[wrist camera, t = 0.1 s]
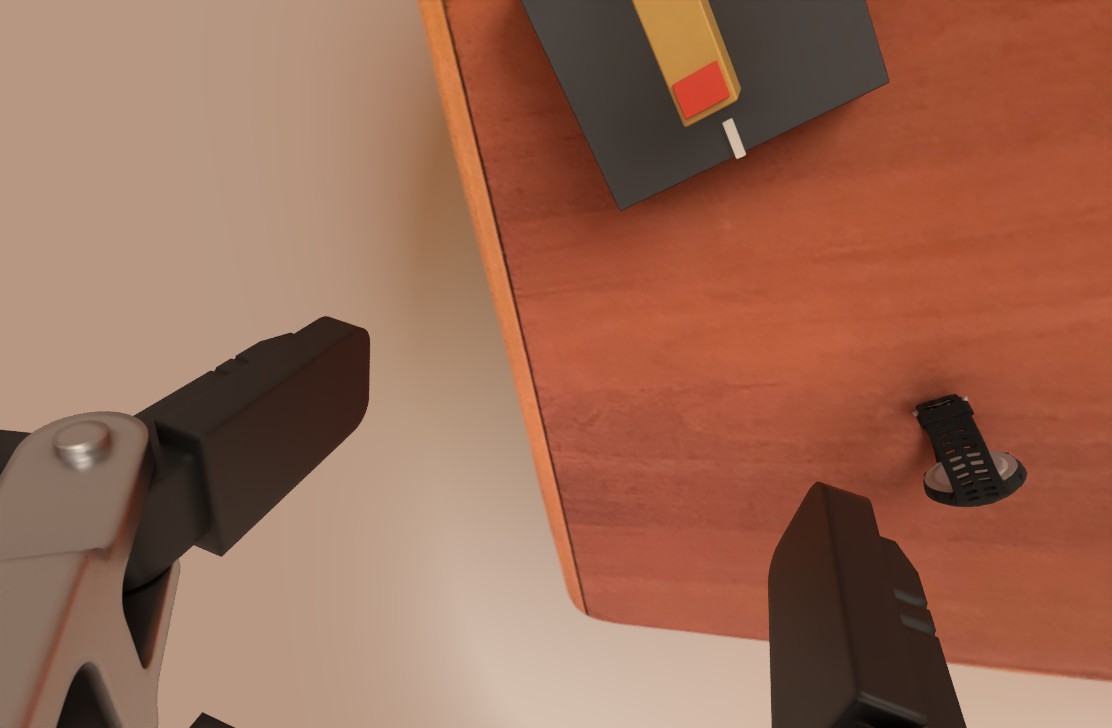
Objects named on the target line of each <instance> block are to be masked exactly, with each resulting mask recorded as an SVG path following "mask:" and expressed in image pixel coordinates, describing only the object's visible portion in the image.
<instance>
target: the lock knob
mask: <svg viewBox="0 0 1112 728" xmlns="http://www.w3.org/2000/svg"><path fill="white" fill-rule="evenodd" d="M632 3H633V5H634V7H635V10H636V12H637V15H638V17H639V19H640V22H641V24H642V27H643V29H644V31H645V34H646V36H647V39H648V41H649V43H650V46H651V48H652V51H653V53H654V56H655V58H656V60H657V63H658V65H659V68H660V70H661V72H662V75H663V77H664V80H665V82H666V84H667V87H668V89H669V92H670V94H671V96H672V99H673V101H674V104H675V106H676V108H677V111H678V113H679V116H680V118H681V120H682V123H683V125H684V126H685V127H688V126H690V125H691V124H693V123H695V122H697V121H699V120H701V119H703V118H705V117H707V116H709V115H711V114H712V113H714V112H716V111H718V110H720V109H722V108H724V107H726V106H728V105H730V104H732V103H734V102H735V101H737V99H738V97H739V94H740V91H741V87H740V84H739V81H738V79H737V76H736V73H735V71H734V68H733V65H732V63H731V60H730V57H729V55H728V52H727V49H726V47H725V44H724V42H723V39H722V36H721V34H720V31H719V28H718V26H717V23H716V20H715V18H714V15H713V12H712V10H711V7H710V4H709V2H708V0H632Z"/></svg>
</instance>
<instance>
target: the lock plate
mask: <svg viewBox="0 0 1112 728" xmlns="http://www.w3.org/2000/svg"><path fill="white" fill-rule="evenodd" d="M708 2H709V4H710V7H711V10H712V12H713V15H714V18H715V20H716V23H717V26H718V28H719V31H720V34H721V36H722V39H723V42H724V44H725V47H726V49H727V52H728V55H729V57H730V60H731V63H732V65H733V68H734V71H735V73H736V76H737V79H738V81H739V84H740V87H741V91H740V94H739V97H738V99H737V101H735V102H734V103H732V104H730V105H728V106H726V107H724V108H722V109H720V110H718V111H716V112H714V113H712V114H711V115H709V116H707V117H705V118H703V119H701V120H699V121H697V122H695V123H693V124H691V125H690V126H688V127H685V126H684V125H683V123H682V120H681V118H680V116H679V113H678V111H677V108H676V106H675V104H674V101H673V99H672V96H671V94H670V92H669V89H668V87H667V84H666V82H665V80H664V77H663V75H662V72H661V70H660V68H659V65H658V63H657V60H656V58H655V56H654V53H653V51H652V48H651V46H650V43H649V41H648V39H647V36H646V34H645V31H644V29H643V27H642V24H641V22H640V19H639V17H638V15H637V12H636V10H635V7H634V5H633V3H632V0H521V3H522V5H523V7H524V9H525V11H526V13H527V15H528V17H529V19H530V22H531V24H532V26H533V28H534V30H535V32H536V34H537V36H538V39H539V41H540V43H541V45H542V47H543V49H544V51H545V53H546V56H547V58H548V60H549V62H550V64H551V66H552V68H553V70H554V72H555V75H556V77H557V79H558V81H559V83H560V85H561V87H562V89H563V92H564V94H565V96H566V98H567V100H568V102H569V104H570V106H571V109H572V111H573V113H574V115H575V117H576V119H577V121H578V123H579V125H580V128H581V130H582V132H583V134H584V136H585V138H586V140H587V142H588V145H589V147H590V149H591V151H592V153H593V155H594V157H595V159H596V162H597V164H598V166H599V168H600V170H601V172H602V174H603V176H604V178H605V181H606V183H607V185H608V187H609V189H610V191H611V193H612V195H613V198H614V200H615V202H616V204H617V206H618V208H619V210H620V211H622V210H624V209H626V208H629V207H631V206H633V205H635V204H637V203H639V202H641V201H643V200H645V199H647V198H649V197H652V196H654V195H656V194H658V193H660V192H662V191H664V190H666V189H668V188H670V187H672V186H674V185H677V184H679V183H681V182H683V181H685V180H687V179H689V178H691V177H693V176H695V175H697V174H700V173H702V172H704V171H706V170H708V169H710V168H712V167H714V166H716V165H718V164H720V163H723V162H725V161H727V160H729V159H731V158H733V157H736V159H739V158H741V157H743V156H745V155H746V153H745V151H748V150H750V149H752V148H754V147H756V146H758V145H760V144H762V143H764V142H766V141H768V140H771V139H773V138H775V137H777V136H779V135H781V134H783V133H785V132H787V131H789V130H791V129H794V128H796V127H798V126H800V125H802V124H804V123H806V122H808V121H810V120H812V119H814V118H816V117H819V116H821V115H823V114H825V113H827V112H829V111H831V110H833V109H835V108H837V107H839V106H842V105H844V104H846V103H848V102H850V101H852V100H854V99H856V98H858V97H860V96H862V95H865V94H867V93H869V92H871V91H873V90H875V89H877V88H879V87H881V86H883V85H885V84H887V83H889V78H888V74H887V71H886V68H885V64H884V61H883V58H882V54H881V51H880V47H879V44H878V41H877V37H876V34H875V31H874V27H873V24H872V21H871V17H870V14H869V11H868V7H867V4H866V0H708Z"/></svg>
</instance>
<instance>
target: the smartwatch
mask: <svg viewBox="0 0 1112 728" xmlns="http://www.w3.org/2000/svg"><path fill="white" fill-rule="evenodd" d="M916 409H917V411H914V412H912V413H913V415H914V416H916V417H917V420H918V422H919V424H920V426H921V428H922V429H926V431H927V433H928V435H929V437H930V440H931V442H932V445H933V448H934V451H935V456H936V461H937V463H936V464H935V465H934V466H933V467H932V468H930V469H929V470H928V471H927V472H926V473H924V489H925V493H926V494H927V496H928V497H929V498H931V499H932V500H934V501H936V502H939V503H942V504H946V505H950V506H956V507H974V506H977V507H978V506H982V505H987V504H992V503H994V502H997V501H999V500H1001V499H1004V498H1006V497H1008V496H1010V495H1011V494H1013V493H1014V492H1015V491H1016V490H1017V489H1018V488H1019V487H1021V486H1022V485H1023V483H1024V481H1025V480H1026V477H1027V472H1026V469H1025V468H1024V466H1023V465H1022V464H1021V462H1020V461H1018V460H1017V459H1016V458H1015V457H1013V456H1011V455H1010V454H1009V453H1003V452H998V451H989V450H988V448H987V446H986V444H985V442H984V440H983V438H982V436H981V434H980V432H979V430H978V428H977V426H976V424H975V422H974V420H973V418H972V415H973V414H974V412H973V410H972V408H971V406H970V404H969V403H968V398H967V396H964V397H958V395H956V394H953V395H948V396H945V397H942V398H939V399H935V400H932V401H929V402H926V403H922V404H919V405H917V406H916ZM918 413H919V414H918ZM952 423H959V424H952ZM942 426H944V427H943V428H941V429H939V430H935V429H937V428H939V427H942ZM959 430H963V431H960V432H956V431H959ZM943 434H947V436H944V437H942V438H939V436H941V435H943ZM960 439H962V440H960ZM947 442H952V443H950V444H948V445H945V446H943V445H942V444H945V443H947ZM967 446H970V447H971V448H964V447H967ZM953 449H954V450H955V452H952V453H949V454H946V453H945V452H948V451H950V450H953Z"/></svg>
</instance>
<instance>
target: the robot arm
mask: <svg viewBox="0 0 1112 728" xmlns="http://www.w3.org/2000/svg"><path fill="white" fill-rule="evenodd" d="M369 364H370V338H369V334H368V332H367V330H365V329H364V328H361V327H357V326H355V325H351V324H349V323H346V322H343V321H340V320H337V319H334V318H331V317H327V316H325V317H321V318H319V319H318V320H316V321H314V322H313V323H311V324H309V325H308V326H306V327H304V328H303V329H301V330H300V331H298V332H296V333H295V334H293V333H288V334H284V335H281V336H277V337H274V338H270V339H267V340H263V341H260V342H258V343H257V344H255V345H253V346H252V347H250V348H248V349H247V350H245V351H243V352H241V353H240V354H238V355H236V358H235V359H229V360H228V361H226V362H224V363H223V364H221V365H219V366H218V367H216V370H215V371H214V372H213V371H209V372H207V373H206V374H204V375H203V376H201V377H199V378H197V379H196V380H194V381H192V382H190V383H189V384H187V385H185V386H184V387H182V388H180V389H178V390H177V391H175V392H173V393H172V394H170V395H168V396H167V397H165V398H163V399H162V400H160V401H158V402H156V403H155V404H153V405H151V406H150V407H148V408H146V409H145V410H143V411H141V412H139V413H138V414H136V415H134V416H131V415H128V414H124V413H118V412H90V413H83V414H78V415H73V416H69V417H66V418H63V419H60V420H57V421H54V422H52V423H49V424H47V425H45V426H43V427H41V428H40V429H38V430H36V431H34V432H33V433H26V432H17V431H7V430H0V728H158V708H157V691H158V682H159V676H160V671H161V665H162V660H163V655H164V650H165V645H166V640H167V635H168V630H169V625H170V619H171V615H172V610H173V605H174V600H175V595H176V590H177V585H178V580H179V575H180V562H179V557H181V556H182V555H183V554H184V553H185V552H186V551H187V550H188V549H190V548H191V547H192V546H193V545H195V546H197V547H199V548H202V549H204V550H207V551H209V552H211V553H214V554H216V555H218V556H223V555H224V554H225V553H226V552H227V551H228V550H229V549H230V548H231V547H232V546H233V545H234V544H236V542H238V541H239V540H240V539H241V538H242V537H243V536H244V535H245V534H246V533H247V532H248V531H249V530H250V529H251V528H252V527H253V526H254V525H255V524H256V523H258V522H259V521H260V520H261V519H262V518H263V517H264V516H265V515H266V514H267V513H268V512H269V511H270V510H271V509H272V508H273V507H274V506H276V505H277V504H278V503H279V502H280V501H281V500H282V499H283V498H284V497H285V496H286V495H287V494H288V493H289V492H290V491H291V490H292V489H293V488H294V487H296V485H298V484H299V483H300V482H301V481H302V480H303V479H304V478H305V477H306V476H307V475H308V474H309V473H310V472H311V471H312V470H313V469H314V468H316V467H317V466H318V465H319V464H320V463H321V462H322V461H323V460H324V459H325V458H326V457H327V456H328V455H329V454H330V453H331V452H332V451H333V450H334V449H335V448H337V447H338V446H339V445H340V444H341V443H342V442H343V441H344V440H345V439H346V438H347V437H348V436H349V435H350V434H351V433H352V432H353V431H354V430H355V429H356V428H357V427H358V426H359V424H360V423H361V421H362V419H363V417H364V415H365V413H366V410H367V406H368V401H369V369H370V365H369ZM768 601H769V639H770V674H771V676H770V677H771V713H772V728H966V724H965V721H964V718H963V715H962V712H961V708H960V705H959V702H958V699H957V696H956V693H955V690H954V686H953V683H952V680H951V677H950V674H949V670H948V667H947V664H946V661H945V657H944V654H943V651H942V648H941V645H940V641H939V638H938V637H935V631H936V629H935V626H934V622H933V619H932V616H931V613H930V610H927V604H928V603H927V600H926V597H925V594H924V590H923V587H922V584H921V581H920V578H919V575H918V572H917V571H916V569H915V568H914V567H913V565H912V564H911V562H910V561H909V560H908V558H907V557H906V555H905V554H904V553H903V551H902V550H901V549H900V547H899V546H898V544H897V543H896V542H895V541H892V540H890V539H887V538H884V537H881V536H880V535H879V531H878V527H877V523H876V519H875V516H874V512H873V508H872V504H871V502H870V500H869V499H868V498H866V497H863V496H860V495H857V494H854V493H851V492H848V491H845V490H842V489H839V488H836V487H833V486H830V485H827V484H824V483H821V482H816V483H815V484H814V485H813V486H812V487H811V488H810V489H809V491H808V493H807V494H806V496H805V498H804V500H803V501H802V503H801V505H800V507H799V508H798V510H797V512H796V514H795V515H794V517H793V519H792V521H791V522H790V524H789V526H788V528H787V529H786V531H785V533H784V534H783V536H782V538H781V540H780V541H779V543H778V545H777V547H776V549H775V552H774V555H773V558H772V561H771V565H770V570H769V576H768ZM190 728H234V727H232V726H230V725H228V724H226V723H224V722H222V721H220V720H218V719H215V718H213V717H211V716H209V715H207V714H205V713H201V715H200V716H199V717H198V718H197V719H196V721H195V722H194V723H193V724H192V725H191V726H190Z"/></svg>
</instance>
